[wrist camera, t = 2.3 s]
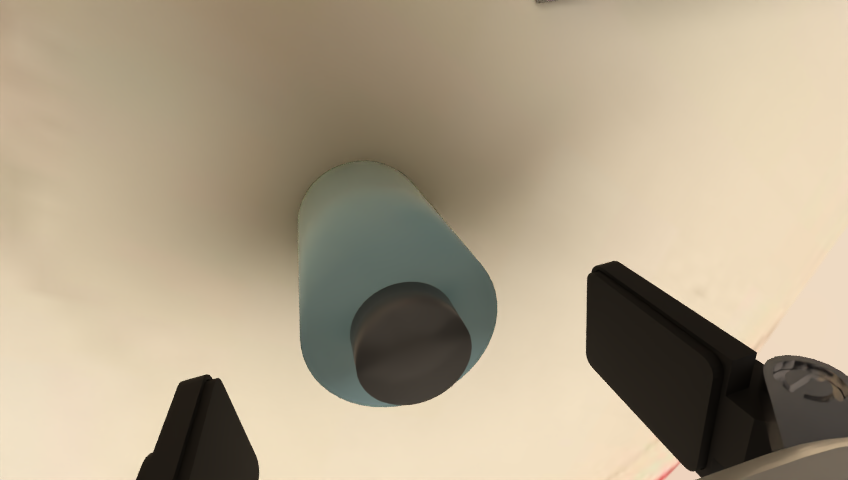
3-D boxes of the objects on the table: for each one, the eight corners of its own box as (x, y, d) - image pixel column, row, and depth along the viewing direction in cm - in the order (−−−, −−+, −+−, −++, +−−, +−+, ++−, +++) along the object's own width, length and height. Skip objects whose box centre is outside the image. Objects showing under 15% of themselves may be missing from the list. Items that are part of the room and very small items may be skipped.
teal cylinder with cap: (281, 177, 16) (270, 296, 9) (414, 148, 17) (511, 233, 9) (316, 292, 18) (331, 468, 11) (432, 262, 19) (521, 403, 12)
